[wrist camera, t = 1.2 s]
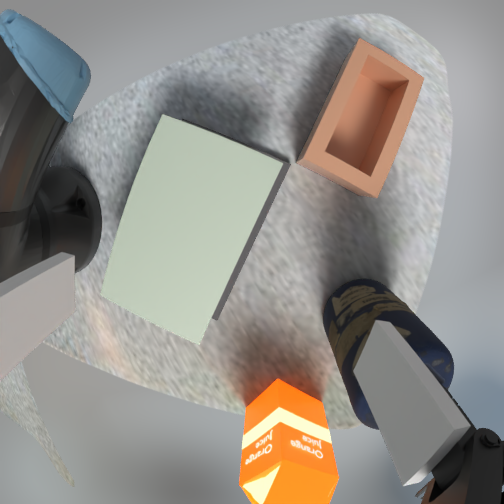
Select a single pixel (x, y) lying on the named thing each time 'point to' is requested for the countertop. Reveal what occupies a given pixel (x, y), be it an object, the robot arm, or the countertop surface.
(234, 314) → the countertop surface
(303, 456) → the orange juice
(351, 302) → the canister
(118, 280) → the board
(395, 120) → the dish
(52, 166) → the robot arm
